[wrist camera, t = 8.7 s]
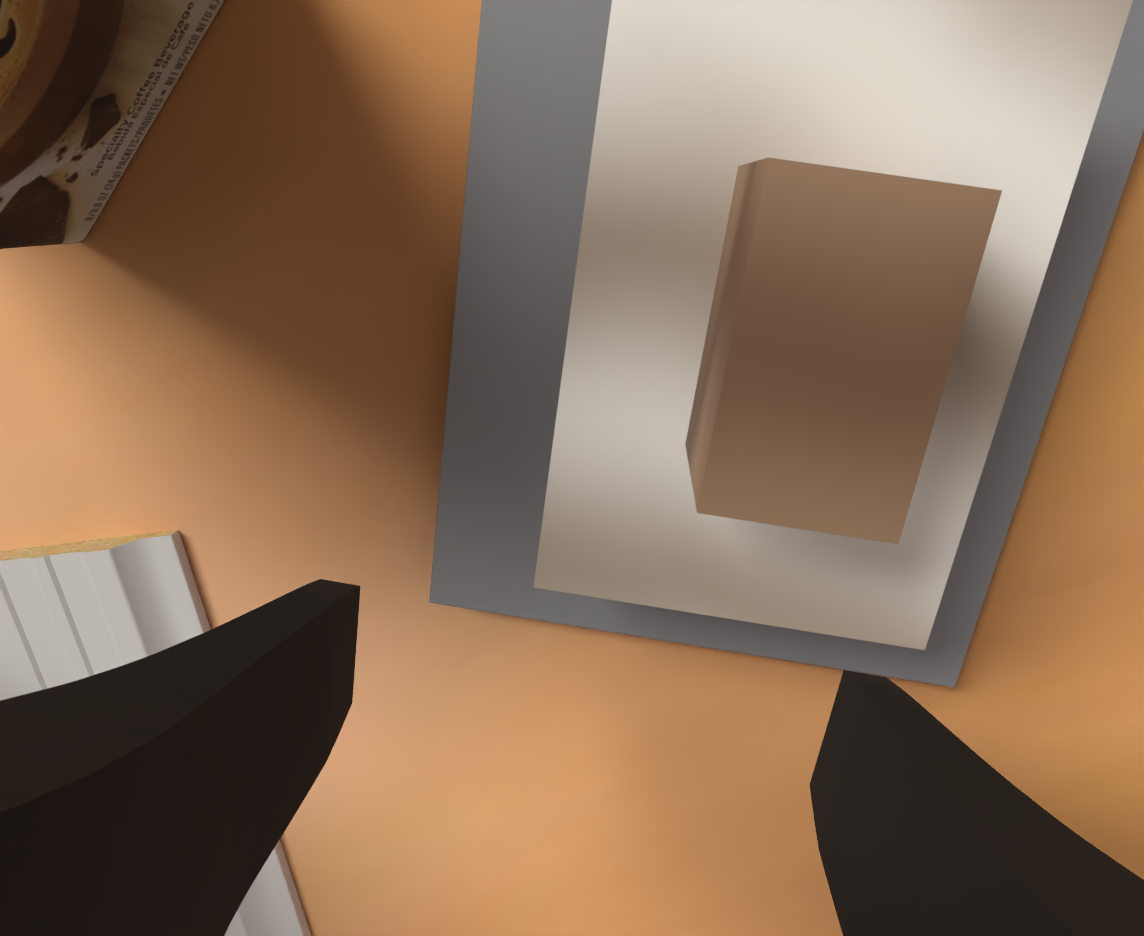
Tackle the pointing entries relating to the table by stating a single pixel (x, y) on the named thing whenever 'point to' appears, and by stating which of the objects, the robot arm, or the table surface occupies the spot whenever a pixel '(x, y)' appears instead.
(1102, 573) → the table surface
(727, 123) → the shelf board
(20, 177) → the coffee box
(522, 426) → the peg stand
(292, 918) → the baseboard molding
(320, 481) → the table surface
